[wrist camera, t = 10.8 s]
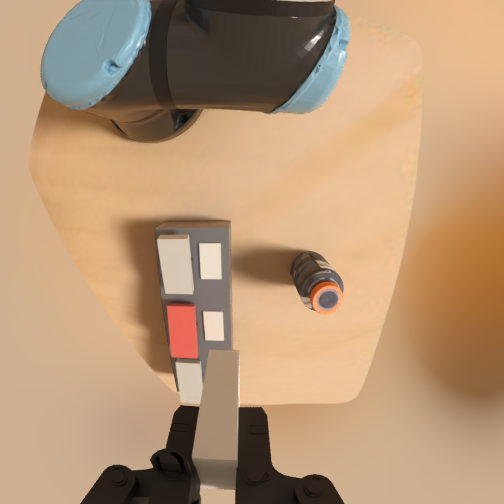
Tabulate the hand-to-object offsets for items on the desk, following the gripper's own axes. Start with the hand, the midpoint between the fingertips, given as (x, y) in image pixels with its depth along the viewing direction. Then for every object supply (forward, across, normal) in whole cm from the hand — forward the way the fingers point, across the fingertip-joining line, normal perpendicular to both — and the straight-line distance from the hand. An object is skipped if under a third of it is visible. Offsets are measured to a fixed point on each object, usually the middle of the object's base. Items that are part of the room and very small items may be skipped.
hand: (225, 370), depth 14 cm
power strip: (+29, -6, -12) cm, 32 cm away
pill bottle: (+30, +11, -5) cm, 32 cm away
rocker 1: (+23, -8, -2) cm, 24 cm away
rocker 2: (+23, -8, -22) cm, 32 cm away
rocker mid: (+23, -8, -12) cm, 27 cm away
